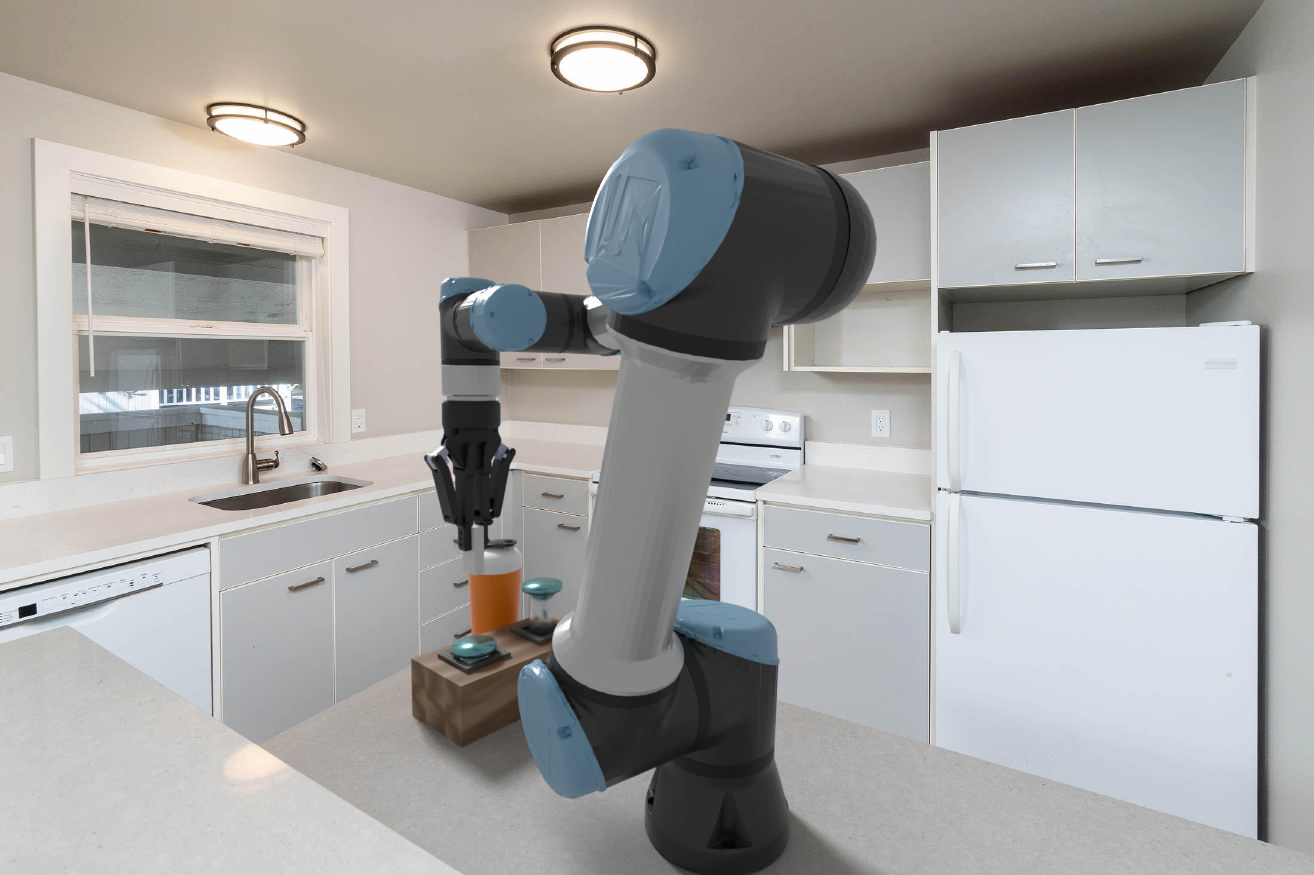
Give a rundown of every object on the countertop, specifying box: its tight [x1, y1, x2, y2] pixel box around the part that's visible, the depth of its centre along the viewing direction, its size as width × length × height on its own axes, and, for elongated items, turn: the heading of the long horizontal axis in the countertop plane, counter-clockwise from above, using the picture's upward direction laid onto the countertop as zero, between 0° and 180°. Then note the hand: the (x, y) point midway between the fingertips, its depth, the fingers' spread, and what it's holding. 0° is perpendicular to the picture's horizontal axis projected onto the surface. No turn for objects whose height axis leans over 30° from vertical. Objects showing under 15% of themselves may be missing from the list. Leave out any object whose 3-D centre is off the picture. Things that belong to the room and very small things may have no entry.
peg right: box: [521, 576, 563, 637], centre depth 98 cm, size 6×6×9 cm
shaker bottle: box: [467, 537, 524, 636], centre depth 106 cm, size 9×9×20 cm
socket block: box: [410, 614, 564, 748], centre depth 94 cm, size 12×24×9 cm, turn 140°
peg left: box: [450, 634, 497, 664], centre depth 89 cm, size 6×6×9 cm
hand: (473, 572), depth 88 cm, fingers closed
